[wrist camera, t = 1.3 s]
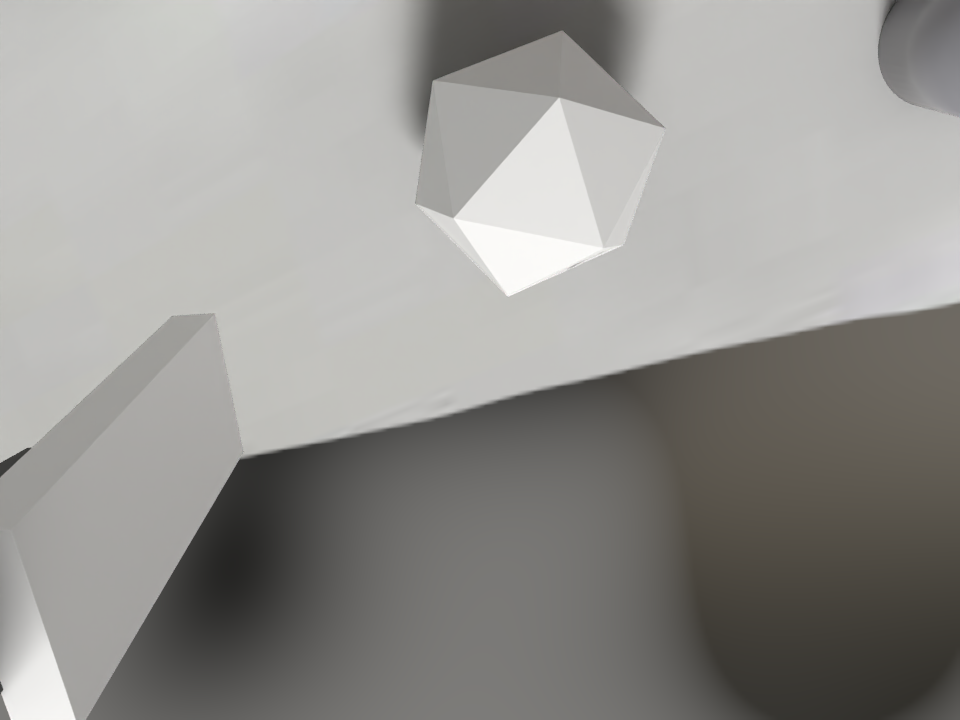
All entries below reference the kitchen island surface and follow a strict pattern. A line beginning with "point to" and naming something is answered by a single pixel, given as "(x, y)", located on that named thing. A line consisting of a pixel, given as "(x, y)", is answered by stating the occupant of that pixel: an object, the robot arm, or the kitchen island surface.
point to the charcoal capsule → (923, 53)
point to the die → (534, 161)
